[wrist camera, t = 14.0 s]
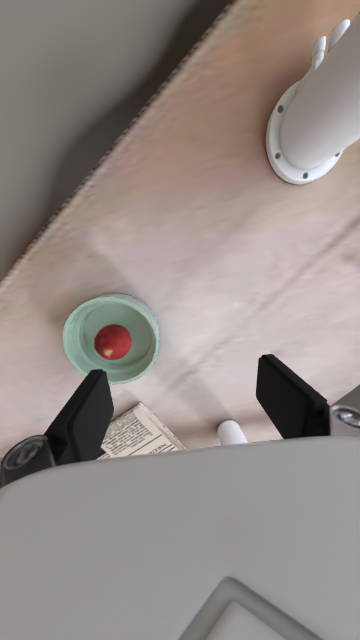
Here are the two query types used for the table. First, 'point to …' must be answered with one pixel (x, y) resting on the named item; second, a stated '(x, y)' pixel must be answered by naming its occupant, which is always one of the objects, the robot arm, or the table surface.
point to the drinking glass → (230, 433)
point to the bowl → (108, 312)
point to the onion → (112, 342)
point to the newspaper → (137, 435)
